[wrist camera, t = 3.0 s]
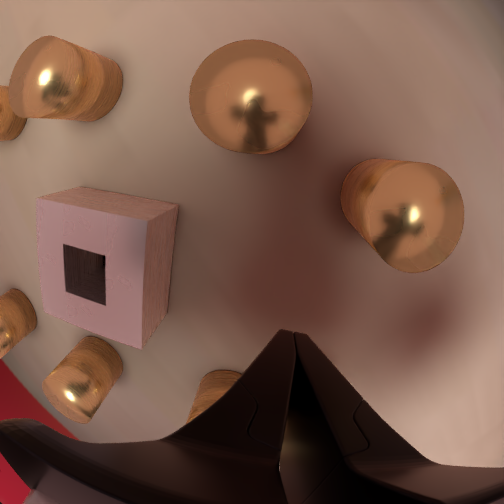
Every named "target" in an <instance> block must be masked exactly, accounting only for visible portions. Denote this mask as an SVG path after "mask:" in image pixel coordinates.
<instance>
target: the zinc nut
mask: <svg viewBox="0 0 504 504" xmlns="http://www.w3.org/2000/svg"><path fill="white" fill-rule="evenodd" d="M178 208H179V205H178V204H173V203H168V202H162V201H157V200H152V199H147V198H141V197H136V196H130V195H125V194H119V193H114V192H108V191H102V190H97V189H91V188H85V187H77V188H73V189H69V190H65V191H61V192H57V193H53V194H49V195H46V196H42V197H38V198H37V204H36V221H37V249H38V263H39V274H40V284H41V292H42V299H43V306H44V312H46V313H48V314H50V315H52V316H55V317H57V318H59V319H62V320H64V321H66V322H69V323H71V324H73V325H76V326H78V327H81V328H83V329H86V330H88V331H91V332H93V333H96V334H98V335H101V336H104V337H106V338H109V339H112V340H115V341H117V342H120V343H123V344H126V345H129V346H132V347H135V348H138V349H141V350H142V349H143V347H144V346H145V344H146V343H147V341H148V340H149V338H150V337H151V335H152V334H153V332H154V331H155V330H156V328H157V327H158V325H159V324H160V322H161V321H162V319H163V318H164V316H165V315H166V314H167V310H168V298H169V286H170V275H171V265H172V256H173V247H174V239H175V230H176V223H177V215H178ZM103 255H105V256H106V266H104V265H103Z"/></svg>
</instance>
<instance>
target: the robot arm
mask: <svg viewBox="0 0 504 504" xmlns="http://www.w3.org/2000/svg"><path fill="white" fill-rule="evenodd" d="M0 452H1V454H2V455H3V456H4V458H5V459H6V460H7V462H8V463H9V464H10V466H11V467H12V468H13V469H14V470H15V472H16V473H17V474H18V475H19V477H20V478H21V479H22V480H23V481H24V482H25V483H26V485H27V486H28V487H29V488H30V489H31V491H30V492H29V494H28V496H27V497H26V499H25V500H24V502H23V504H504V468H485V467H463V466H450V465H442V464H438V463H435V462H433V461H431V460H429V459H427V458H426V457H424V456H423V455H422V454H421V453H419V452H418V451H417V450H416V449H415V448H414V447H413V446H411V445H410V444H409V443H408V442H407V441H406V440H405V439H404V438H402V437H401V436H400V435H399V434H398V433H397V432H396V431H395V430H393V429H392V428H391V427H390V426H389V425H388V424H387V423H386V422H385V421H384V420H383V419H382V418H381V417H380V416H379V415H378V414H377V413H376V412H375V411H374V410H373V409H372V408H371V406H370V405H369V404H368V403H367V402H366V401H365V400H363V398H362V396H361V395H360V394H359V393H358V392H357V391H356V390H355V389H354V387H353V386H352V385H351V384H350V383H349V382H348V381H347V380H346V378H345V377H344V376H343V375H342V374H341V373H340V372H339V371H338V369H337V368H336V367H335V366H334V365H333V364H332V363H331V361H330V360H329V359H328V358H327V357H326V356H325V355H324V353H323V352H322V351H321V350H320V349H319V348H318V347H317V345H316V344H315V343H314V342H313V341H312V340H311V339H310V337H309V336H308V335H307V334H303V333H298V332H294V333H293V332H292V331H288V330H283V329H280V330H279V331H278V332H277V333H276V334H275V336H274V337H273V338H272V339H271V341H270V342H269V343H268V344H267V345H266V347H265V348H264V349H263V350H262V352H261V353H260V354H259V355H258V356H257V357H256V359H255V360H254V361H253V362H252V363H251V365H250V366H249V367H248V368H247V369H246V370H245V372H244V373H243V374H242V375H241V376H240V377H239V379H238V380H237V381H236V382H235V383H234V384H233V385H232V386H231V387H230V388H229V390H228V391H227V392H226V393H225V394H224V395H223V396H222V397H221V398H219V399H218V400H217V401H216V402H215V403H213V404H212V405H211V406H210V407H209V408H207V409H206V410H205V411H203V412H202V413H201V414H199V415H198V416H197V417H195V418H194V419H192V420H191V421H190V422H188V423H187V424H186V425H184V426H183V427H181V428H180V429H179V430H177V431H176V432H174V433H172V434H171V435H169V436H167V437H165V438H162V439H159V440H154V441H143V442H128V443H102V444H99V443H88V442H82V441H78V440H75V439H72V438H69V437H67V436H65V435H62V434H60V433H58V432H57V431H55V430H53V429H52V428H50V427H48V426H46V425H44V424H42V423H41V422H38V421H36V420H33V419H28V418H23V419H16V418H15V419H6V420H2V421H0ZM279 463H280V471H279ZM0 504H2V503H1V502H0Z"/></svg>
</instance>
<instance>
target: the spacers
mask: <svg viewBox="0 0 504 504" xmlns="http://www.w3.org/2000/svg"><path fill="white" fill-rule="evenodd" d="M122 81H123V79H122V72H121V70H120V68H119V66H118V65H117V64H116V63H115V62H114V61H112V60H111V59H108V58H106V57H104V56H102V55H99V54H97V53H95V52H92V51H90V50H87V49H85V48H83V47H80V46H78V45H75V44H73V43H70V42H68V41H65V40H62V39H60V38H57V37H54V36H44V37H41V38H39V39H37V40H36V41H34V42H33V43H32V44H31V45H29V46H28V47H27V49H26V50H25V51H24V52H23V53H22V55H21V56H20V58H19V59H18V61H17V63H16V65H15V67H14V70H13V72H12V75H11V79H10V83H9V86H2V85H0V141H4V140H12V139H14V138H16V137H17V136H18V135H19V134H20V132H21V131H22V129H23V127H24V125H25V123H26V120H27V118H48V119H65V120H79V121H94V120H97V119H100V118H102V117H103V116H105V115H106V114H107V113H108V112H109V111H110V110H111V109H112V108H113V106H114V105H115V103H116V102H117V100H118V98H119V95H120V93H121V89H122ZM189 102H190V109H191V112H192V116H193V118H194V120H195V122H196V124H197V126H198V127H199V129H200V130H201V131H202V132H203V134H204V135H205V136H207V137H208V138H209V139H210V140H211V141H213V142H214V143H215V144H217V145H219V146H221V147H223V148H226V149H228V150H232V151H236V152H242V153H253V154H268V153H273V152H276V151H278V150H280V149H282V148H284V147H285V146H287V145H288V144H289V143H290V142H291V141H292V140H293V139H294V138H295V137H296V135H297V134H298V132H299V131H300V129H301V128H302V126H303V125H304V123H305V121H306V120H307V117H308V115H309V113H310V109H311V106H312V85H311V81H310V78H309V75H308V73H307V71H306V69H305V68H304V66H303V65H302V63H301V62H300V61H299V60H298V58H297V57H296V56H294V55H293V54H292V53H291V52H289V51H288V50H286V49H285V48H283V47H281V46H279V45H277V44H274V43H271V42H267V41H263V40H242V41H237V42H233V43H230V44H227V45H225V46H223V47H221V48H219V49H217V50H216V51H214V52H213V53H212V54H210V55H209V56H208V57H207V58H206V59H205V60H204V61H203V62H202V64H201V65H200V66H199V68H198V69H197V71H196V73H195V75H194V77H193V80H192V83H191V86H190V93H189ZM340 198H341V206H342V210H343V213H344V215H345V217H346V218H347V220H348V221H349V222H350V224H351V225H352V226H353V227H354V228H355V229H356V230H357V231H358V232H359V233H360V234H361V236H362V237H363V238H364V239H365V240H366V241H367V242H368V243H369V244H370V245H371V246H372V248H373V249H374V250H375V251H376V252H377V253H378V254H379V255H380V257H381V258H382V259H383V260H384V261H385V262H386V263H387V264H389V265H390V266H392V267H393V268H395V269H397V270H400V271H403V272H408V273H418V272H424V271H427V270H430V269H432V268H434V267H436V266H437V265H439V264H440V263H442V262H443V261H444V260H445V259H446V258H447V257H448V256H449V255H450V254H451V252H452V251H453V250H454V248H455V247H456V245H457V243H458V241H459V238H460V236H461V233H462V229H463V223H464V206H463V200H462V197H461V194H460V191H459V189H458V187H457V185H456V184H455V182H454V181H453V179H452V178H451V177H450V176H449V175H448V174H447V173H446V172H445V171H443V170H442V169H440V168H438V167H436V166H434V165H431V164H428V163H420V162H410V161H399V160H386V159H370V160H366V161H363V162H361V163H359V164H358V165H356V166H355V167H354V168H353V169H351V171H350V172H349V173H348V174H347V176H346V178H345V180H344V182H343V185H342V188H341V197H340ZM36 324H37V319H36V314H35V311H34V309H33V307H32V305H31V303H30V301H29V300H28V298H27V297H26V296H25V295H24V294H23V293H22V292H21V291H19V290H17V289H11V290H9V291H8V292H6V293H5V294H3V295H2V296H0V359H1V358H2V357H3V356H4V355H5V354H6V353H7V352H8V351H10V350H11V349H12V348H13V347H14V346H15V345H16V344H17V343H19V342H20V341H21V340H22V339H23V338H24V337H25V336H27V335H28V334H29V333H30V332H31V331H33V330H34V329H35V327H36ZM122 371H123V364H122V361H121V359H120V357H119V355H118V354H117V352H116V351H115V350H114V349H113V348H112V347H111V346H110V345H109V344H108V343H106V342H105V341H103V340H101V339H99V338H97V337H93V336H88V337H85V338H83V339H82V340H81V341H80V342H79V343H78V344H77V345H76V346H75V347H74V348H73V350H72V351H71V352H70V353H69V354H68V355H67V356H66V357H65V358H64V359H63V360H62V361H61V362H60V363H59V365H58V366H57V367H56V368H55V369H54V370H53V371H52V372H51V373H50V374H49V375H48V377H47V378H46V379H45V380H44V381H43V384H42V387H43V391H44V393H45V395H46V397H47V398H48V400H49V401H50V403H51V404H52V405H53V406H54V407H55V408H56V409H57V410H58V411H59V412H60V413H62V414H63V415H64V416H66V417H67V418H69V419H71V420H73V421H75V422H78V423H82V424H86V423H89V422H90V420H91V419H92V417H93V416H94V414H95V413H96V411H97V409H98V408H99V406H100V405H101V403H102V402H103V400H104V399H105V397H106V396H107V394H108V393H109V391H110V390H111V388H112V387H113V385H114V384H115V382H116V381H117V379H118V378H119V376H120V375H121V373H122ZM241 375H242V374H240V373H237V372H234V371H228V370H219V371H214V372H211V373H209V374H207V375H206V376H204V377H203V379H202V380H201V383H200V386H199V388H198V391H197V394H196V397H195V400H194V402H193V405H192V408H191V411H190V414H189V417H188V419H187V422H186V424H187V423H188V422H190V421H191V420H192V419H194V418H195V417H197V416H198V415H199V414H201V413H202V412H203V411H205V410H206V409H207V408H209V407H210V406H211V405H212V404H213V403H215V402H216V401H217V400H218V399H219V398H221V397H222V396H223V395H224V394H225V393H226V392H227V391H228V390H229V388H230V387H231V386H232V385H233V384H234V383H235V382H236V381H237V380H238V379H239V377H240V376H241Z"/></svg>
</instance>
